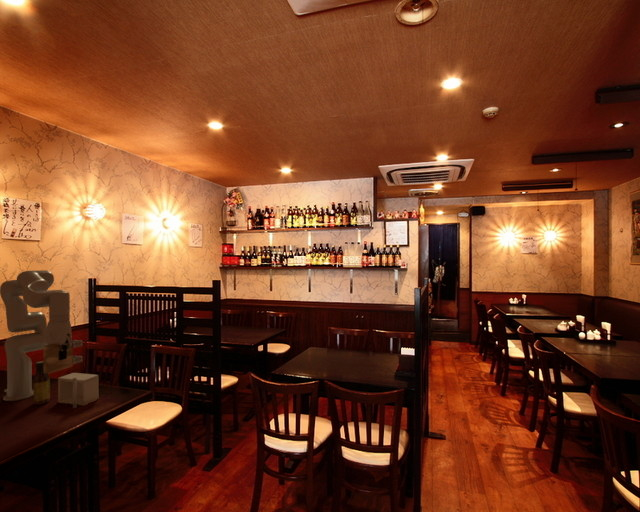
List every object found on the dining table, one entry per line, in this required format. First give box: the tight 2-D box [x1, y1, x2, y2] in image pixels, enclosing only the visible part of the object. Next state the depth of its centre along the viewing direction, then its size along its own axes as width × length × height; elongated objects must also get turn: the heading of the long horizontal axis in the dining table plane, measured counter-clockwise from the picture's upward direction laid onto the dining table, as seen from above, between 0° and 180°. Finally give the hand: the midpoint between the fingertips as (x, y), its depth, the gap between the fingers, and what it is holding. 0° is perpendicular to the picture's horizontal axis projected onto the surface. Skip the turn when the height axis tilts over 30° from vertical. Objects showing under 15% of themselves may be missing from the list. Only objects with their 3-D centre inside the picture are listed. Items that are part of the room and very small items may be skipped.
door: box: [43, 339, 83, 375], centre depth 160 cm, size 4×15×12 cm, turn 165°
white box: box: [57, 372, 100, 409], centre depth 172 cm, size 16×12×14 cm
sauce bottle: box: [32, 360, 51, 405], centre depth 172 cm, size 7×6×20 cm
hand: (59, 358), depth 159 cm, fingers closed on door, 3 cm apart
